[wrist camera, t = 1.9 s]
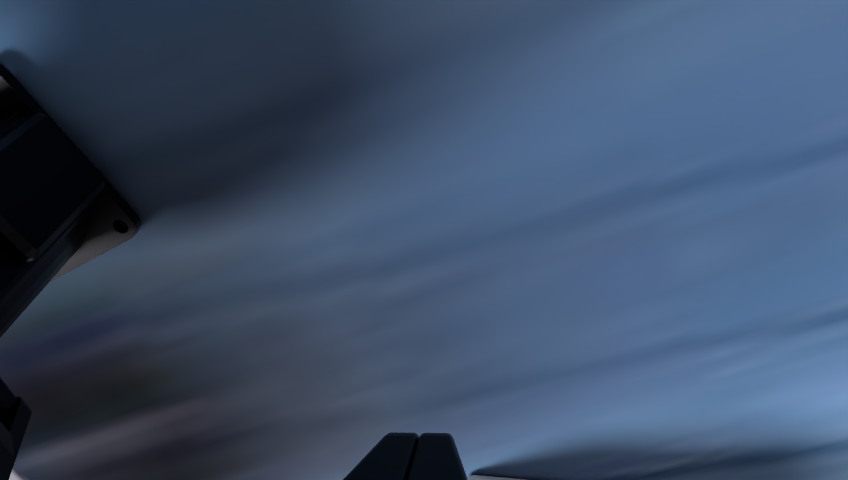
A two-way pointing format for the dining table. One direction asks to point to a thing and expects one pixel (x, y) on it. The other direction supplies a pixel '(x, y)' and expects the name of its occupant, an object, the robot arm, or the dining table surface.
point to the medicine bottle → (489, 478)
